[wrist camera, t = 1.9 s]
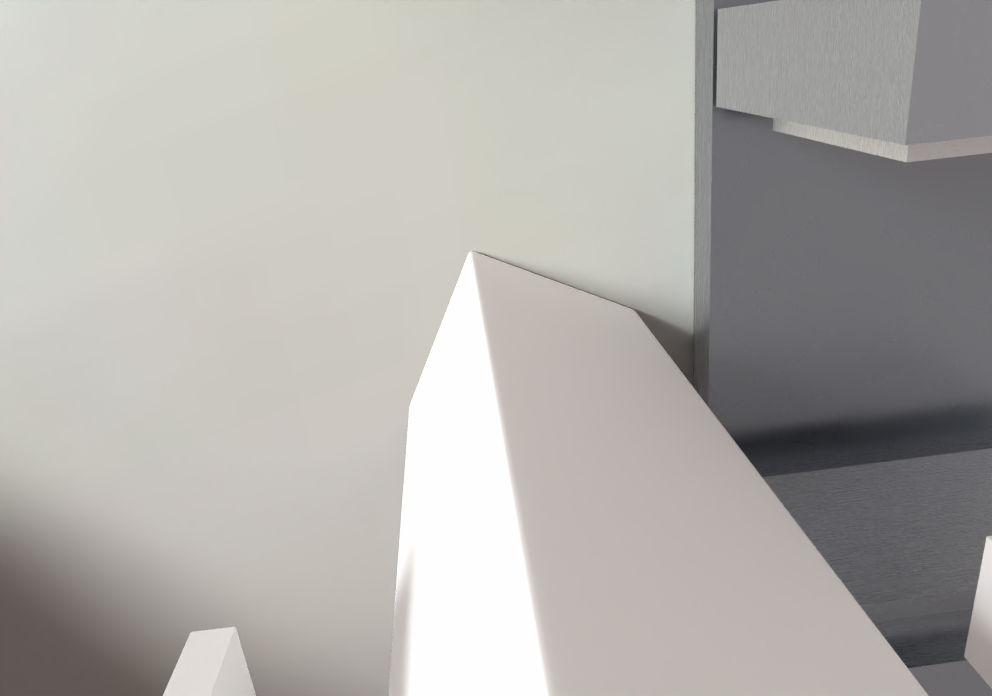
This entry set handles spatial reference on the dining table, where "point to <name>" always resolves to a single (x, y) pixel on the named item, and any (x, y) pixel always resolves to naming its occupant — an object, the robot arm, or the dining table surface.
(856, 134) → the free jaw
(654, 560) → the milk
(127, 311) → the dining table surface
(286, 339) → the dining table surface
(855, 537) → the vise base
